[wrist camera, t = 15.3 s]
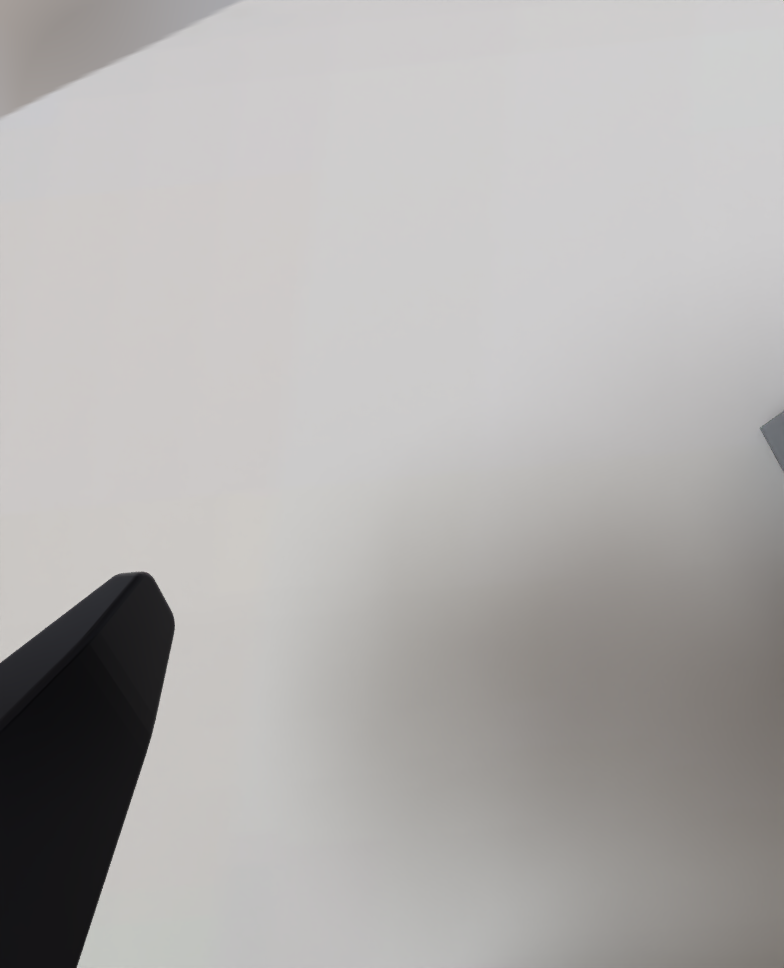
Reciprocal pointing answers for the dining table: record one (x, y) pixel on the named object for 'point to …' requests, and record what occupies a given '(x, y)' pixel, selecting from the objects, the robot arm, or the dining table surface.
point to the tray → (775, 436)
